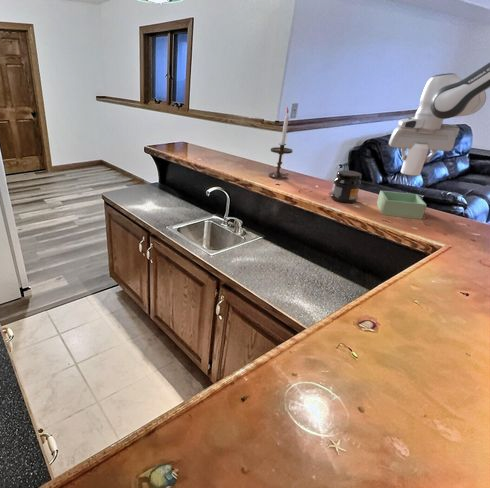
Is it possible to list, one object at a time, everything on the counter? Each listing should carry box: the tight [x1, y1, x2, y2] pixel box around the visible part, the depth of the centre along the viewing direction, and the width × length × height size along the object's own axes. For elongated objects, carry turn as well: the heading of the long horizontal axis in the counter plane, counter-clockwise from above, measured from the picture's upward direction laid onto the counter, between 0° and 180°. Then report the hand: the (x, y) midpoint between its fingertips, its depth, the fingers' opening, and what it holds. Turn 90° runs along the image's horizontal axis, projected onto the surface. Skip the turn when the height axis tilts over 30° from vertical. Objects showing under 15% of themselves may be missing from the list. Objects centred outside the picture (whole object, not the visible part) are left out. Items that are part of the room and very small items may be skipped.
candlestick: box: [268, 106, 293, 179], centre depth 179 cm, size 11×11×35 cm
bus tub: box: [375, 190, 428, 220], centre depth 141 cm, size 14×14×6 cm
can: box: [400, 143, 429, 177], centre depth 133 cm, size 6×6×12 cm
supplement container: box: [330, 169, 362, 204], centre depth 152 cm, size 10×10×12 cm
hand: (414, 160), depth 133 cm, fingers closed on can, 6 cm apart
